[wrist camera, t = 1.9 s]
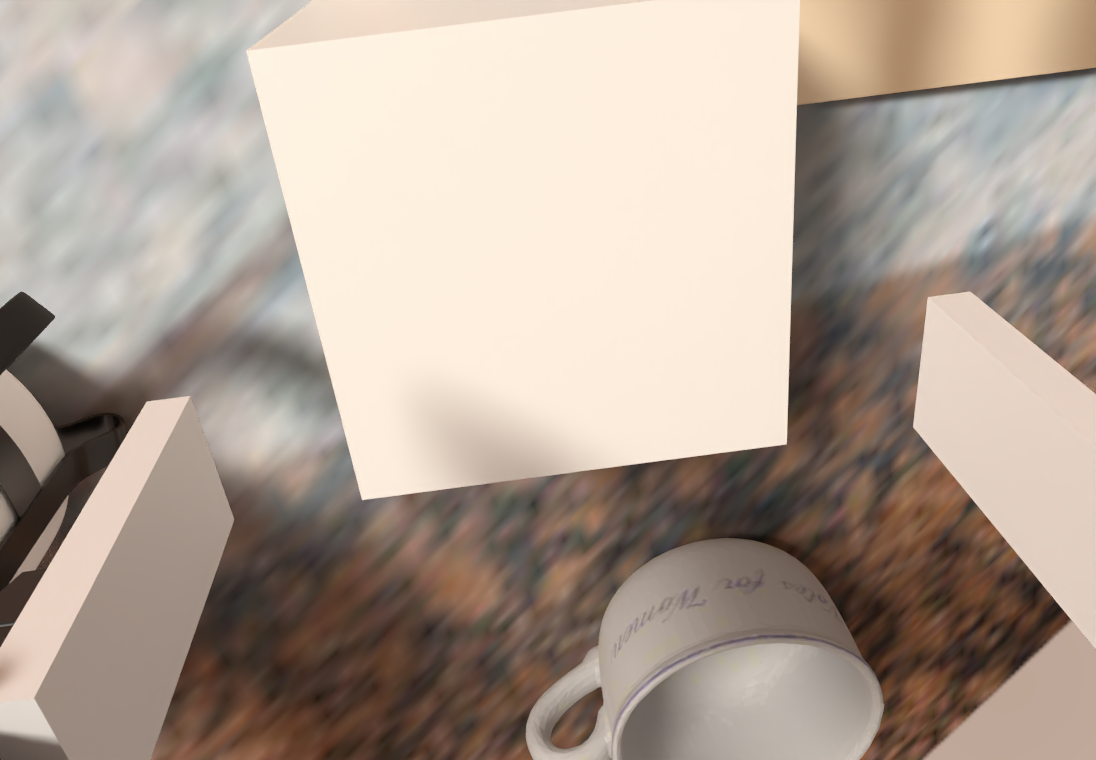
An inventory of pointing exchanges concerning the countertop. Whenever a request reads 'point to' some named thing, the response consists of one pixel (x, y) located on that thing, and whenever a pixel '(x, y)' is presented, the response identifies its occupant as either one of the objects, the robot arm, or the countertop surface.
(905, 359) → the countertop surface
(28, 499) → the coffee press
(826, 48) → the board
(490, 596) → the countertop surface
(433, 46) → the cover
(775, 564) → the teacup
